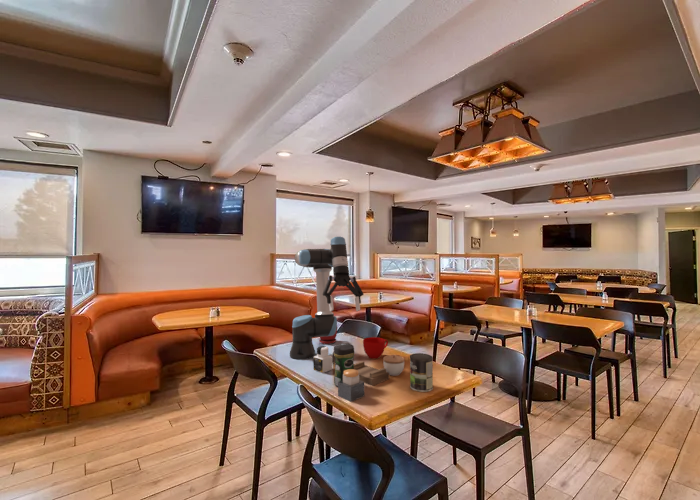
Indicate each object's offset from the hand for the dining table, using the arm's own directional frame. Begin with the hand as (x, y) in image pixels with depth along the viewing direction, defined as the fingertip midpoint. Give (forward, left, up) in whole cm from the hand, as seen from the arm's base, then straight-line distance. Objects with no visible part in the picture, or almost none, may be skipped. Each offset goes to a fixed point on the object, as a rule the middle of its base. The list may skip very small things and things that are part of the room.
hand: (345, 310), depth 154 cm
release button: (+9, -5, -32) cm, 33 cm away
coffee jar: (-3, +2, -35) cm, 35 cm away
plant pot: (-65, +44, -35) cm, 86 cm away
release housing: (+9, -5, -35) cm, 36 cm away
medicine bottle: (-25, +7, -35) cm, 44 cm away
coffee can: (+25, +24, -35) cm, 49 cm away
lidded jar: (+5, +29, -35) cm, 46 cm away
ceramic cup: (-20, +44, -35) cm, 60 cm away
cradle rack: (-1, +16, -35) cm, 38 cm away
